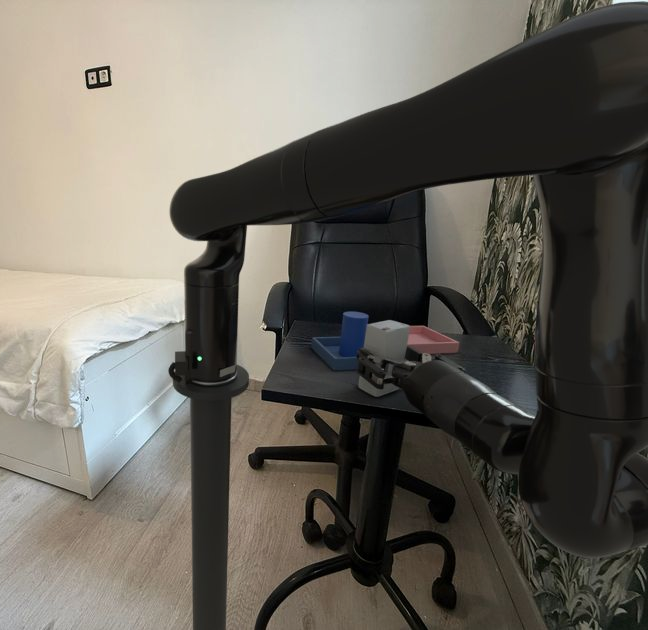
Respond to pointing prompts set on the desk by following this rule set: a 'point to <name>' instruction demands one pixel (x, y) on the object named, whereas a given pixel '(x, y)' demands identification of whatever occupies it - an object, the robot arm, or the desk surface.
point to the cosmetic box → (385, 349)
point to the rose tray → (430, 341)
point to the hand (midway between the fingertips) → (383, 352)
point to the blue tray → (333, 353)
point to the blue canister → (352, 333)
